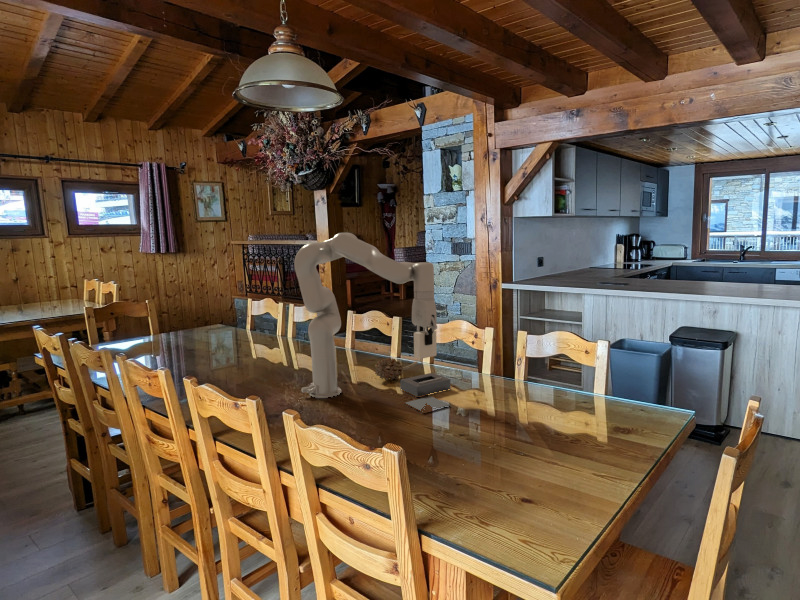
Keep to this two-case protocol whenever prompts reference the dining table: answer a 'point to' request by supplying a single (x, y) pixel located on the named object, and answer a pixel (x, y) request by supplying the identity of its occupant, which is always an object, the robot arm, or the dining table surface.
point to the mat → (429, 400)
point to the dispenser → (425, 384)
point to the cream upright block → (421, 348)
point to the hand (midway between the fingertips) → (425, 343)
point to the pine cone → (390, 368)
